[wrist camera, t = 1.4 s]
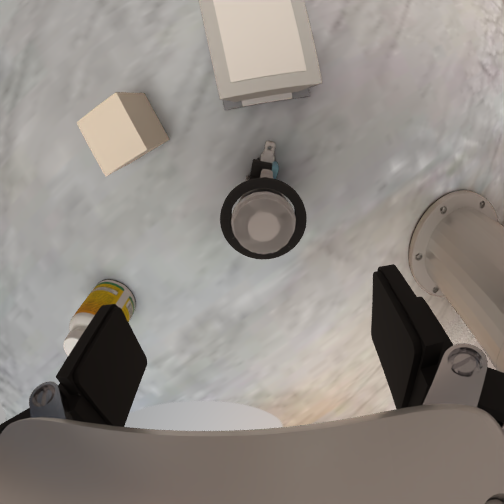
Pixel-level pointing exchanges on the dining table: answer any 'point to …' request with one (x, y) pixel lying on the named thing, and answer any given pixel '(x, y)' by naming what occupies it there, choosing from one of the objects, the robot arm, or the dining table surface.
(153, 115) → the block
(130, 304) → the supplement bottle
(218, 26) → the board
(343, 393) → the dining table surface
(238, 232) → the push button
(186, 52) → the dining table surface
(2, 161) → the dining table surface
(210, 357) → the dining table surface
